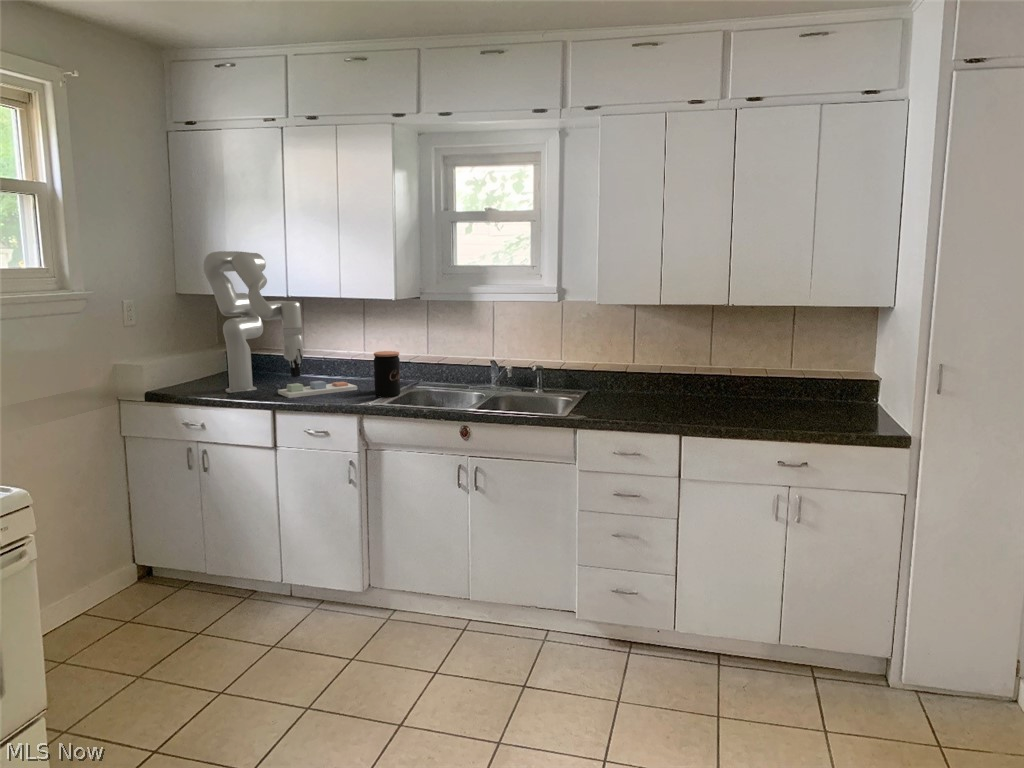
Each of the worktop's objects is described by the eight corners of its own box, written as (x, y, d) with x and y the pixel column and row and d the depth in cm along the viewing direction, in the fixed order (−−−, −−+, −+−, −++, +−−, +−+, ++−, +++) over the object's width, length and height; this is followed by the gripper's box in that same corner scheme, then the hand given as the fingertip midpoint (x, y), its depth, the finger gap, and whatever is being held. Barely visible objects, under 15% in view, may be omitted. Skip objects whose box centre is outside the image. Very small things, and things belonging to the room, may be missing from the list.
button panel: (278, 396, 315) (277, 389, 314) (345, 388, 333) (344, 382, 332) (289, 401, 306) (288, 394, 305) (357, 393, 324) (357, 386, 323)
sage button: (287, 393, 313) (286, 384, 313) (298, 392, 316) (298, 383, 316) (291, 395, 310) (291, 386, 309) (303, 394, 313) (303, 384, 312)
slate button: (310, 391, 319) (309, 381, 319) (321, 389, 322) (321, 380, 322) (315, 393, 316) (314, 383, 315) (326, 391, 319) (325, 382, 318)
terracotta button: (332, 391, 326) (332, 382, 325) (343, 390, 329) (343, 381, 328) (337, 393, 322) (337, 384, 321) (348, 392, 325) (348, 383, 324)
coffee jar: (393, 398, 312) (391, 354, 309) (370, 396, 316) (368, 353, 313) (404, 393, 322) (403, 351, 319) (382, 392, 326) (381, 350, 322)
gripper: (276, 331, 312) (280, 375, 315) (290, 333, 300) (293, 379, 303) (294, 330, 317) (297, 373, 319) (308, 332, 305) (311, 377, 308)
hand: (295, 376), depth 311 cm, fingers closed
